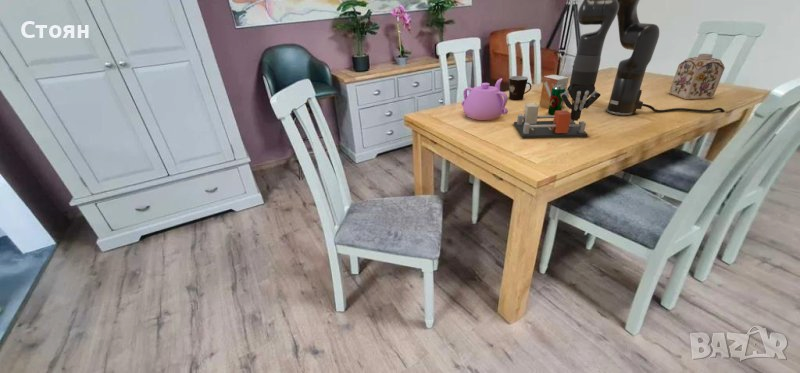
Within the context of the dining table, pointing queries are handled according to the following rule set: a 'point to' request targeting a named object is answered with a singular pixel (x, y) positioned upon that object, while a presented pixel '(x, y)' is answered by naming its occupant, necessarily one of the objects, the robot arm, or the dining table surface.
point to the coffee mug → (517, 87)
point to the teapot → (485, 102)
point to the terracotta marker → (561, 121)
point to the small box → (547, 88)
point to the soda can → (556, 99)
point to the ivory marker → (531, 113)
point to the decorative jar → (697, 77)
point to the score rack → (548, 129)
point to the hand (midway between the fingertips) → (574, 120)
